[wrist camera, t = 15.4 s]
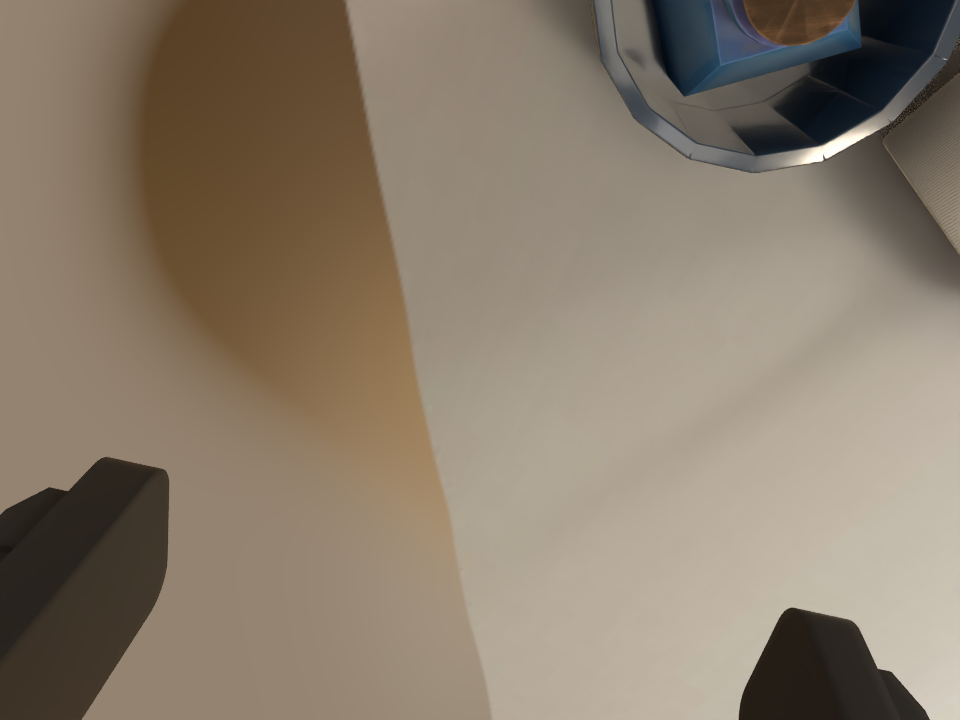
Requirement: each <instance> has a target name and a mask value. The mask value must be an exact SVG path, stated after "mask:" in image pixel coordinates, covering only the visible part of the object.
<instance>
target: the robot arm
mask: <svg viewBox="0 0 960 720" xmlns="http://www.w3.org/2000/svg"><path fill="white" fill-rule="evenodd" d="M168 511H169V478H168V474H167V472H166V471H165V470H164V469H160V468H155V467H151V466H146V465H141V464H137V463H132V462H127V461H123V460H119V459H114V458H109V457H104V458H101V459H100V460H98V461H97V462H96V463H95V464H94V465H93V466H92V467H91V468H90V469H89V470H88V471H87V472H86V473H85V474H84V475H83V476H82V477H81V479H79V481H78V482H77V483H76V484H75V485H74V486H73V487H72V488H71V489H70V490H69V491H63V490H59V489H54V488H50V487H49V488H47V489H45V490H43V491H41V492H39V493H37V494H35V495H33V496H31V497H29V498H27V499H25V500H23V501H21V502H19V503H18V504H16V505H14V506H12V507H10V508H8V509H6V510H5V511H4V512H3V513H2V514H1V515H0V720H82V718H83V716H84V715H85V713H86V712H87V710H88V709H89V707H90V706H91V704H92V703H93V701H94V699H95V698H96V696H97V694H98V693H99V692H100V690H101V689H102V687H103V685H104V684H105V682H106V681H107V679H108V678H109V676H110V675H111V673H112V671H113V670H114V668H115V667H116V665H117V664H118V662H119V661H120V659H121V657H122V656H123V654H124V653H125V651H126V650H127V648H128V647H129V645H130V643H131V642H132V640H133V639H134V637H135V636H136V634H137V632H138V631H139V629H140V628H141V626H142V625H143V623H144V622H145V620H146V619H147V617H148V616H149V614H150V612H151V611H152V608H153V607H154V605H155V603H156V601H157V599H158V596H159V594H160V591H161V588H162V585H163V582H164V578H165V574H166V568H167V556H168V555H167V554H168V553H167V552H168ZM739 720H930V719H929V717H928V715H927V713H926V711H925V710H924V709H923V708H922V706H921V705H920V704H919V703H918V702H917V701H916V700H915V698H914V697H913V696H912V695H911V694H910V693H909V692H908V690H907V689H906V688H905V687H904V686H903V685H902V684H901V682H900V681H899V680H898V679H897V678H896V677H895V676H894V674H893V673H892V672H890V671H885V670H881V669H877V666H876V664H875V662H874V660H873V658H872V655H871V653H870V651H869V649H868V647H867V645H866V642H865V640H864V638H863V636H862V634H861V632H860V630H859V628H858V627H857V625H856V624H855V623H854V622H852V621H851V620H848V619H843V618H838V617H834V616H829V615H825V614H820V613H815V612H811V611H806V610H802V609H797V608H789V609H787V610H786V611H784V612H783V614H782V615H781V617H780V618H779V620H778V622H777V624H776V626H775V628H774V630H773V632H772V634H771V636H770V638H769V640H768V642H767V644H766V646H765V648H764V650H763V652H762V654H761V656H760V658H759V661H758V663H757V665H756V667H755V669H754V671H753V673H752V675H751V677H750V679H749V681H748V683H747V685H746V687H745V689H744V692H743V695H742V699H741V703H740V710H739Z"/></svg>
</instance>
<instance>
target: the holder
mask: <svg viewBox="0 0 960 720" xmlns="http://www.w3.org/2000/svg"><path fill="white" fill-rule="evenodd" d="M858 6H859V18H860V29H861V41H862V47H861V48H858V49H854V50H851V51H847V52H844V53H840V54H836V55H833V56H829V57H826V58H822V59H818V60H815V61H811V62H808V63H804V64H800V65H797V66H793V67H790V68H786V69H783V70H779V71H775V72H772V73H768V74H765V75H761V76H757V77H754V78H750V79H747V80H743V81H739V82H736V83H732V84H729V85H725V86H722V87H718V88H714V89H711V90H707V91H704V92H700V93H696V94H693V95H689V96H686V97H684V96H683V95H682V94H681V93H680V91H679V90H678V89H677V88H676V86H675V85H674V84H673V83H672V81H671V80H670V79H669V78H668V76H667V74H666V68H665V63H664V58H663V52H662V47H661V41H660V36H659V31H658V25H657V20H656V14H655V9H654V4H653V0H590V7H591V14H592V21H593V29H594V36H595V40H596V44H597V48H598V51H599V55H600V59H601V62H602V64H603V65H604V67H605V69H606V70H607V72H608V74H609V76H610V77H611V79H612V81H613V83H614V84H615V86H616V88H617V90H618V91H619V93H620V95H621V97H622V98H623V100H624V102H625V104H626V105H627V107H628V109H629V111H630V112H631V114H632V116H633V118H634V119H636V121H637V122H638V123H640V124H641V125H642V126H644V127H645V128H647V129H648V130H649V131H651V132H652V133H653V134H655V135H656V136H657V137H659V138H660V139H662V140H663V141H664V142H666V143H667V144H668V145H670V146H671V147H672V148H674V149H675V150H677V151H678V152H679V153H681V154H682V155H683V156H685V157H686V158H689V159H690V160H695V161H699V162H704V163H708V164H713V165H717V166H722V167H726V168H731V169H736V170H740V171H745V172H749V173H760V172H766V171H772V170H777V169H783V168H789V167H795V166H801V165H807V164H813V163H819V162H823V161H825V160H828V159H829V158H831V157H833V156H835V155H837V154H838V153H840V152H842V151H844V150H845V149H847V148H849V147H851V146H853V145H854V144H856V143H858V142H860V141H861V140H863V139H865V138H867V137H869V136H870V135H872V134H874V133H876V132H877V131H879V130H881V129H883V128H885V127H886V126H888V125H890V124H891V123H892V122H894V121H895V120H896V118H897V117H898V116H899V115H900V114H901V113H902V112H903V111H904V110H905V109H906V107H907V106H908V105H909V104H910V103H911V102H912V101H913V100H914V99H915V98H916V97H917V95H918V94H919V93H920V92H921V91H922V90H923V89H924V88H925V87H926V86H927V84H928V83H929V82H930V81H931V80H932V79H933V78H934V77H935V76H936V75H937V73H938V72H939V71H940V70H941V69H942V68H943V67H944V66H945V65H946V64H947V61H948V60H949V58H950V56H951V54H952V52H953V49H954V47H955V45H956V43H957V40H958V38H959V36H960V0H858Z"/></svg>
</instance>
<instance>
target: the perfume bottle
mask: <svg viewBox="0 0 960 720" xmlns="http://www.w3.org/2000/svg"><path fill="white" fill-rule="evenodd" d="M653 4H654V9H655V14H656V20H657V25H658V31H659V36H660V41H661V47H662V52H663V58H664V63H665V68H666V74H667V76H668V78H669V79H670V80H671V81H672V83H673V84H674V85H675V86H676V88H677V89H678V90H679V91H680V93H681V94H682V95H683V96H684V97H686V96H689V95H693V94H696V93H700V92H704V91H707V90H711V89H714V88H718V87H722V86H725V85H729V84H732V83H736V82H739V81H743V80H747V79H750V78H754V77H757V76H761V75H765V74H768V73H772V72H775V71H779V70H783V69H786V68H790V67H793V66H797V65H800V64H804V63H808V62H811V61H815V60H818V59H822V58H826V57H829V56H833V55H836V54H840V53H844V52H847V51H851V50H854V49H858V48H861V47H862V41H861V29H860V18H859V6H858V0H653Z"/></svg>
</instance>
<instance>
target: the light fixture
mask: <svg viewBox="0 0 960 720" xmlns="http://www.w3.org/2000/svg"><path fill="white" fill-rule="evenodd" d="M882 143H883V145H884V146H885V148H886V149H887V151H888V152H889V154H890V155H891V157H892V158H893V160H894V161H895V163H896V164H897V166H898V167H899V169H900V170H901V171H902V173H903V174H904V176H905V177H906V179H907V180H908V182H909V183H910V185H911V186H912V187H913V189H914V190H915V192H916V193H917V195H918V196H919V198H920V199H921V201H922V202H923V203H924V205H925V206H926V208H927V209H928V211H929V212H930V214H931V215H932V216H933V218H934V219H935V221H936V222H937V224H938V225H939V227H940V228H941V229H942V231H943V232H944V234H945V235H946V237H947V238H948V240H949V241H950V242H951V244H952V245H953V247H954V248H955V250H956V251H957V253H958V254H959V255H960V72H959V73H958V74H957V75H956V76H955V77H954V78H952V79H951V80H950V81H949V82H948V83H946V84H945V85H944V86H943V87H942V88H941V89H939V90H938V91H937V92H936V93H935V94H934V95H932V96H931V97H930V98H929V99H928V100H927V101H925V102H924V103H923V104H922V105H921V106H920V107H918V108H917V109H916V110H915V111H914V112H912V113H911V114H910V115H909V116H908V117H907V118H905V119H904V120H903V121H902V122H901V123H900V124H898V125H897V126H896V127H895V128H894V129H893V130H892V131H890V132H889V133H888V134H887V135H886V136H885V137H884V138H883V141H882Z"/></svg>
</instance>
